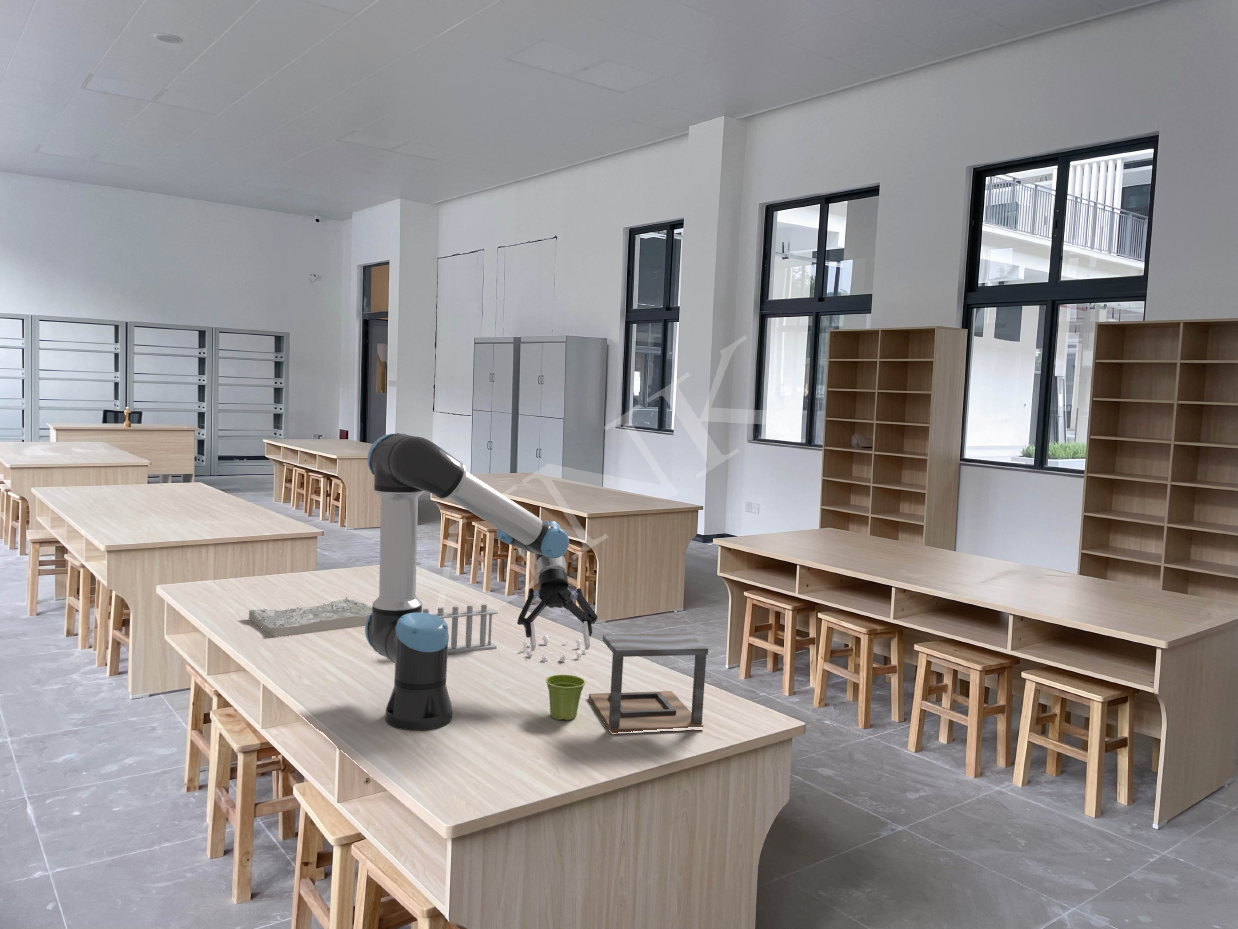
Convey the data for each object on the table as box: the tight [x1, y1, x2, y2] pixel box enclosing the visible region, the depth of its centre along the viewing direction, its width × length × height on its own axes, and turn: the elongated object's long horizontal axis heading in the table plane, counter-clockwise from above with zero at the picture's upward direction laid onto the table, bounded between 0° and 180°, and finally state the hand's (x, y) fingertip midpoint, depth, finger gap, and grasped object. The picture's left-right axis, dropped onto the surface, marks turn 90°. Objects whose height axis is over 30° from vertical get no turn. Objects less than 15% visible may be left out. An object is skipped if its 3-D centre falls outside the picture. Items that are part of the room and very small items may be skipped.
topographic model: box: [248, 596, 372, 638], centre depth 281 cm, size 23×34×5 cm
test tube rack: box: [422, 603, 498, 655], centre depth 258 cm, size 25×4×13 cm, turn 120°
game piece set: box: [520, 634, 588, 663], centre depth 261 cm, size 19×20×4 cm
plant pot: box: [545, 674, 586, 721], centre depth 210 cm, size 9×9×9 cm
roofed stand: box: [588, 632, 709, 733], centre depth 214 cm, size 24×22×20 cm
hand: (560, 647), depth 218 cm, fingers open, 13 cm apart
